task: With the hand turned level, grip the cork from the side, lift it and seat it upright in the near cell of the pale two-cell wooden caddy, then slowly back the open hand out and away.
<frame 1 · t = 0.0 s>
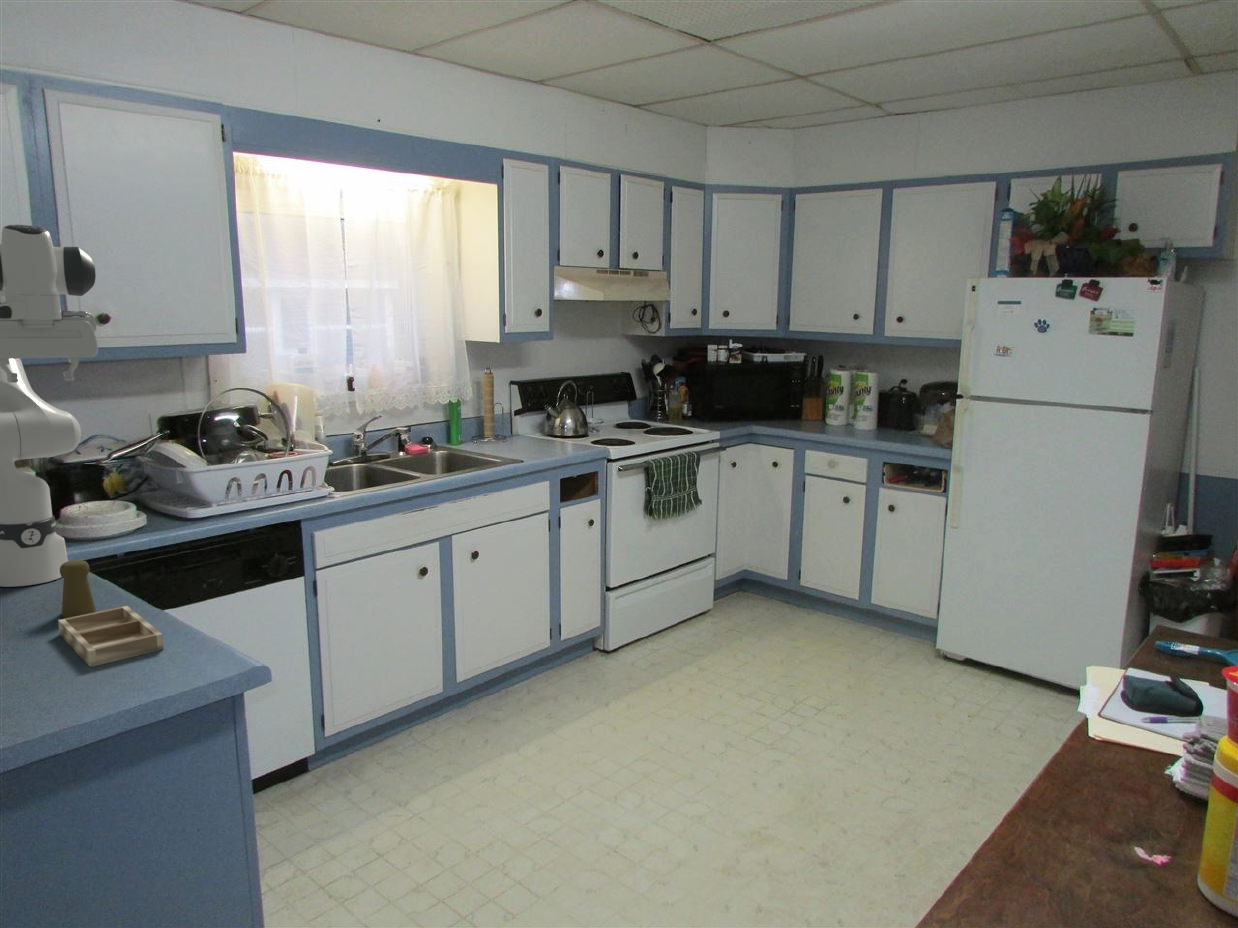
hand: (41, 381, 168), 48 cm above the counter, tool pointing down, fingers open, 8 cm apart
cork: (78, 613, 176), on the counter
caddy: (110, 641, 161), on the counter
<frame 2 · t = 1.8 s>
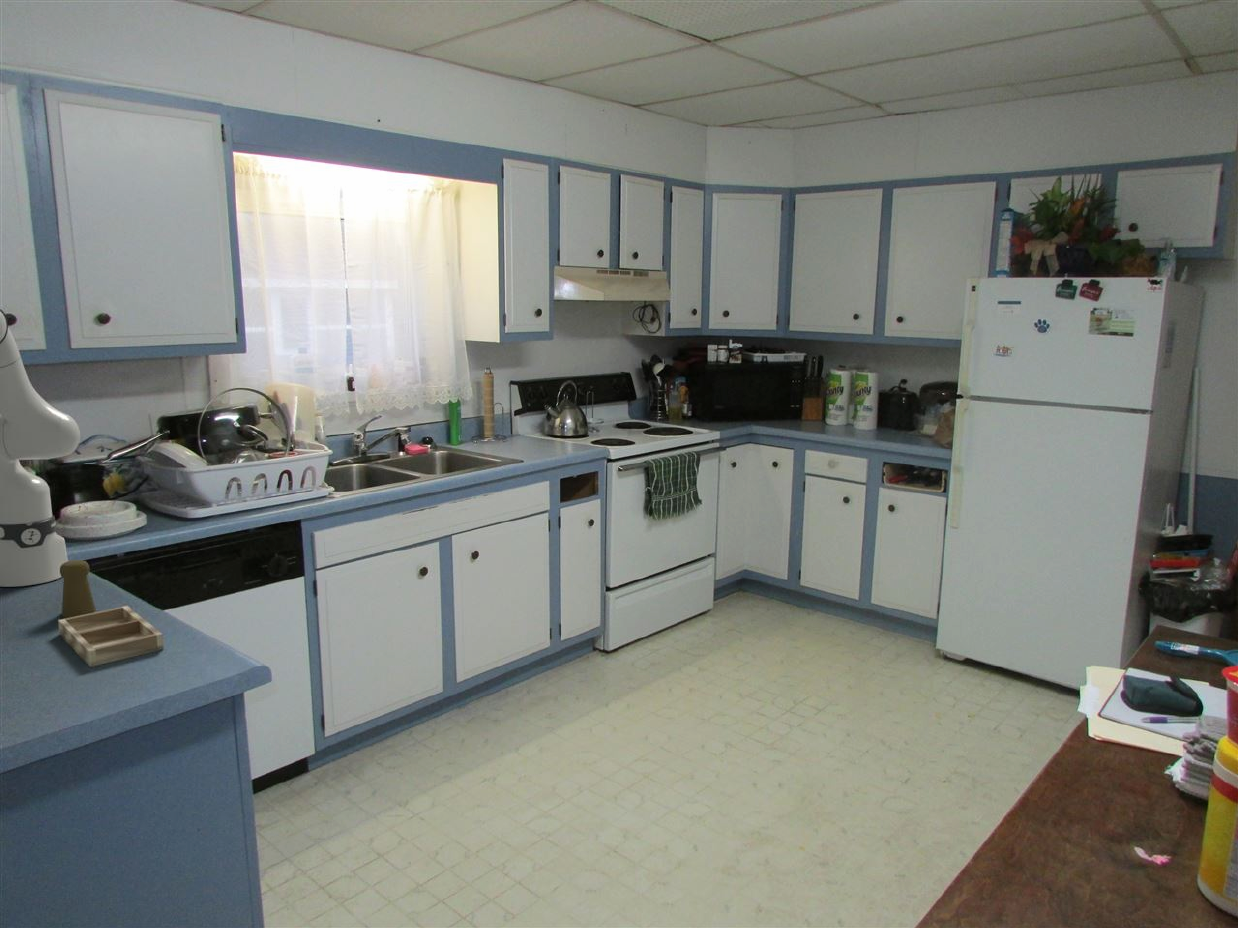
nothing on the counter moved.
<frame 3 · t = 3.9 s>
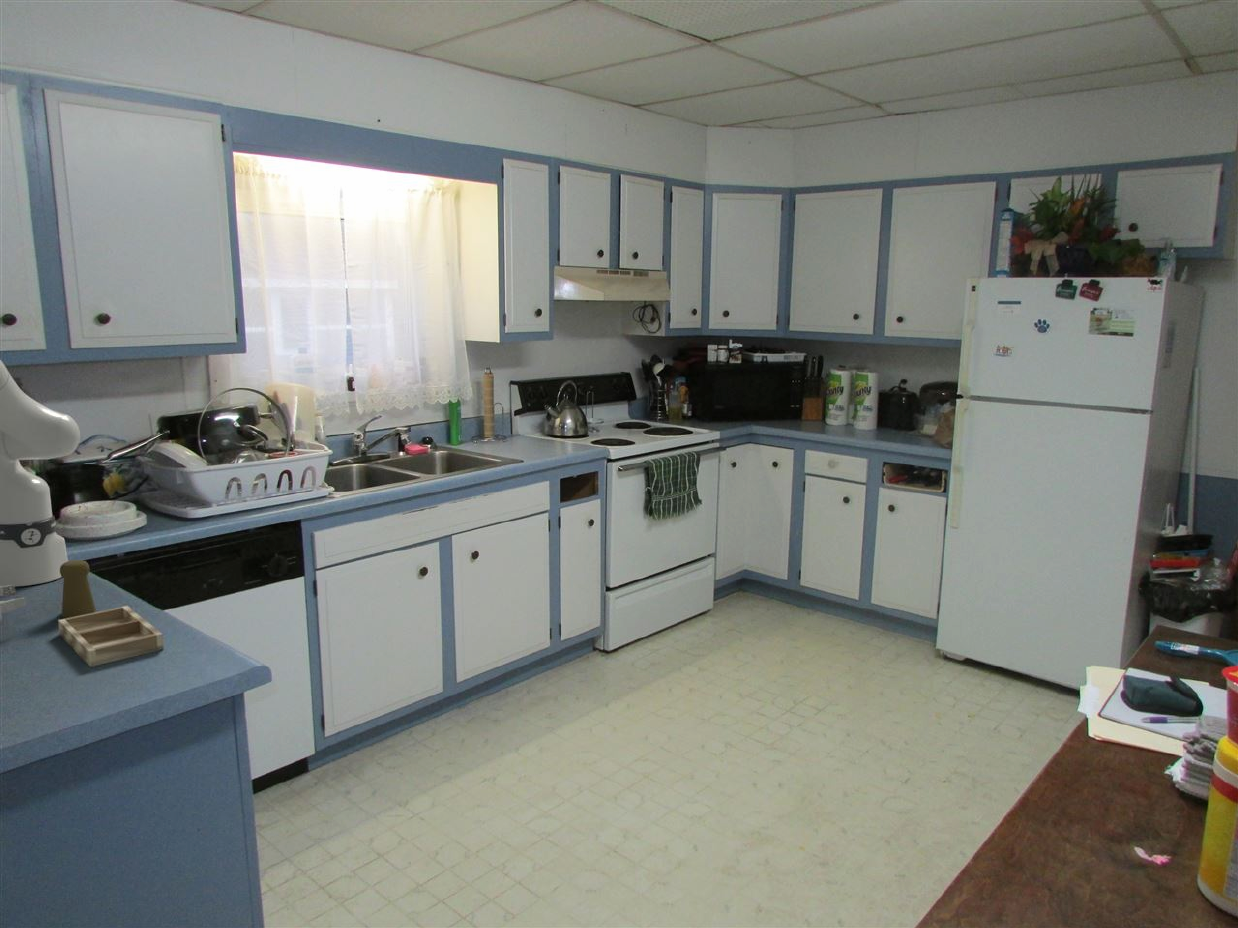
hand: (19, 595, 168), 6 cm above the counter, tool horizontal, fingers open, 8 cm apart
nothing on the counter moved.
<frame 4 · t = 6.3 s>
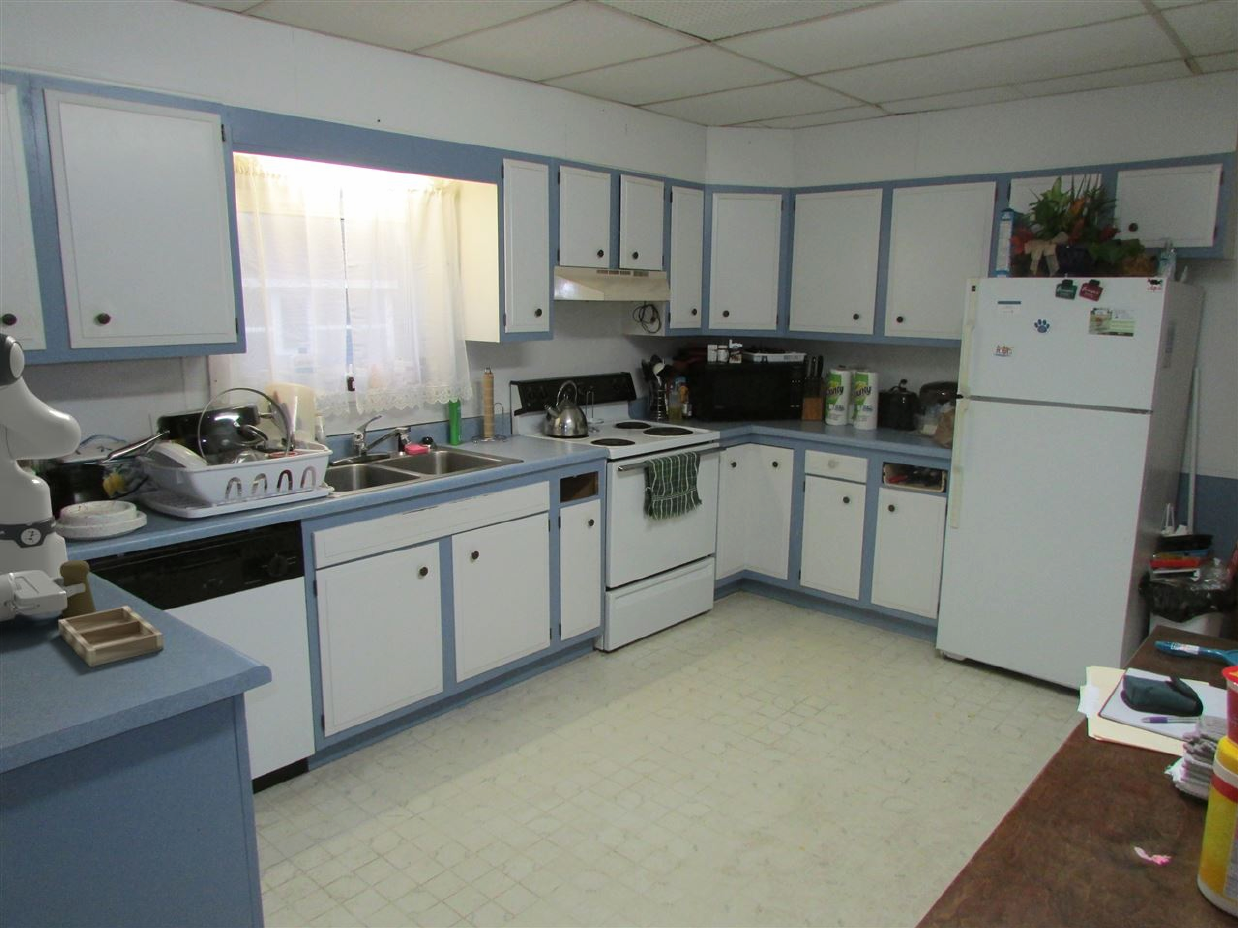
hand: (81, 583, 176), 6 cm above the counter, tool horizontal, fingers closed on cork, 4 cm apart
cork: (78, 613, 176), on the counter, touching gripper
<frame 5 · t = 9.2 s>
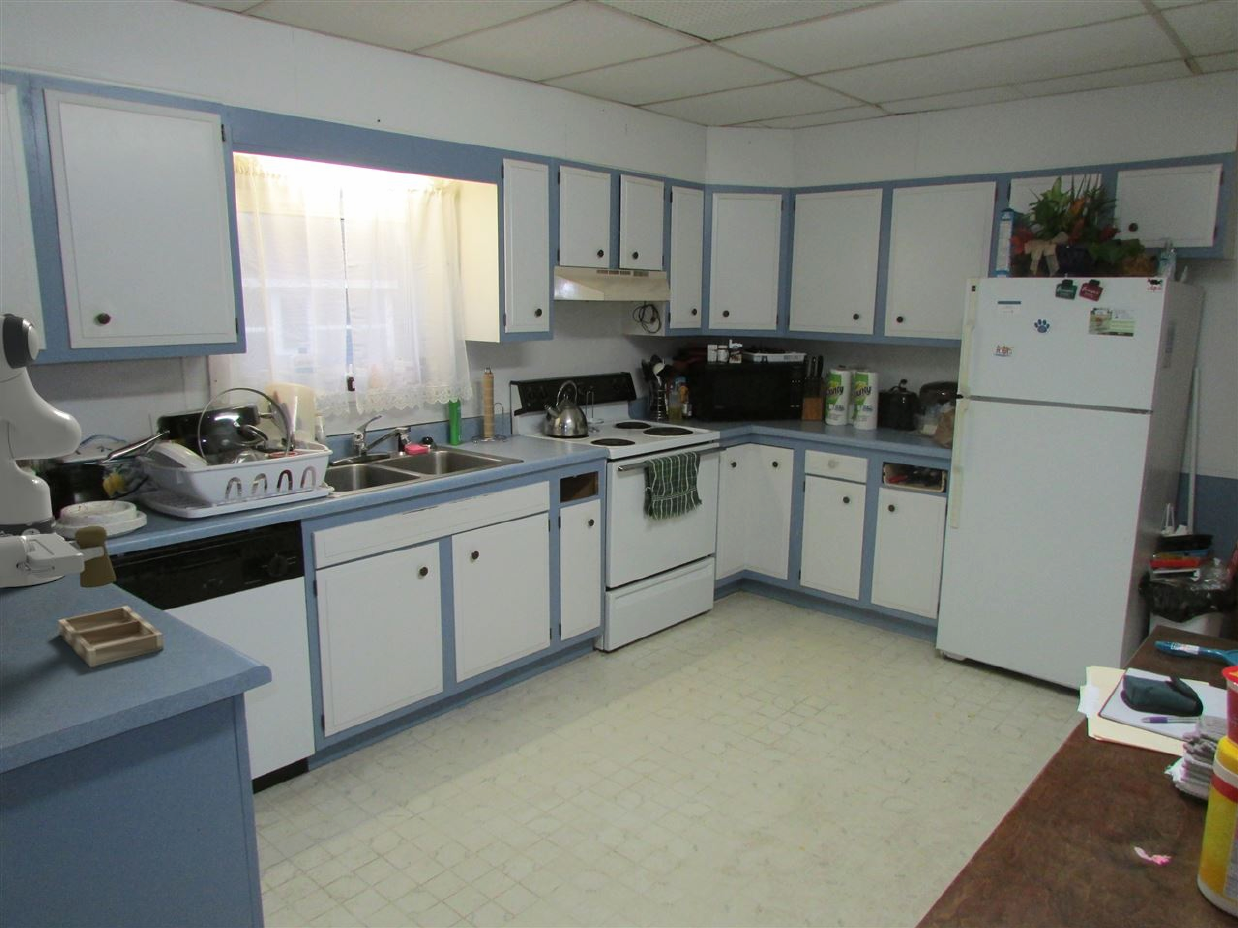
hand: (98, 547, 162), 17 cm above the counter, tool horizontal, fingers closed on cork, 4 cm apart
cork: (98, 583, 163), point 10 cm above the counter, touching gripper
when the fingers open (8 cm above the counter, at t = 12.2 s): cork stays where it is, resting on caddy.
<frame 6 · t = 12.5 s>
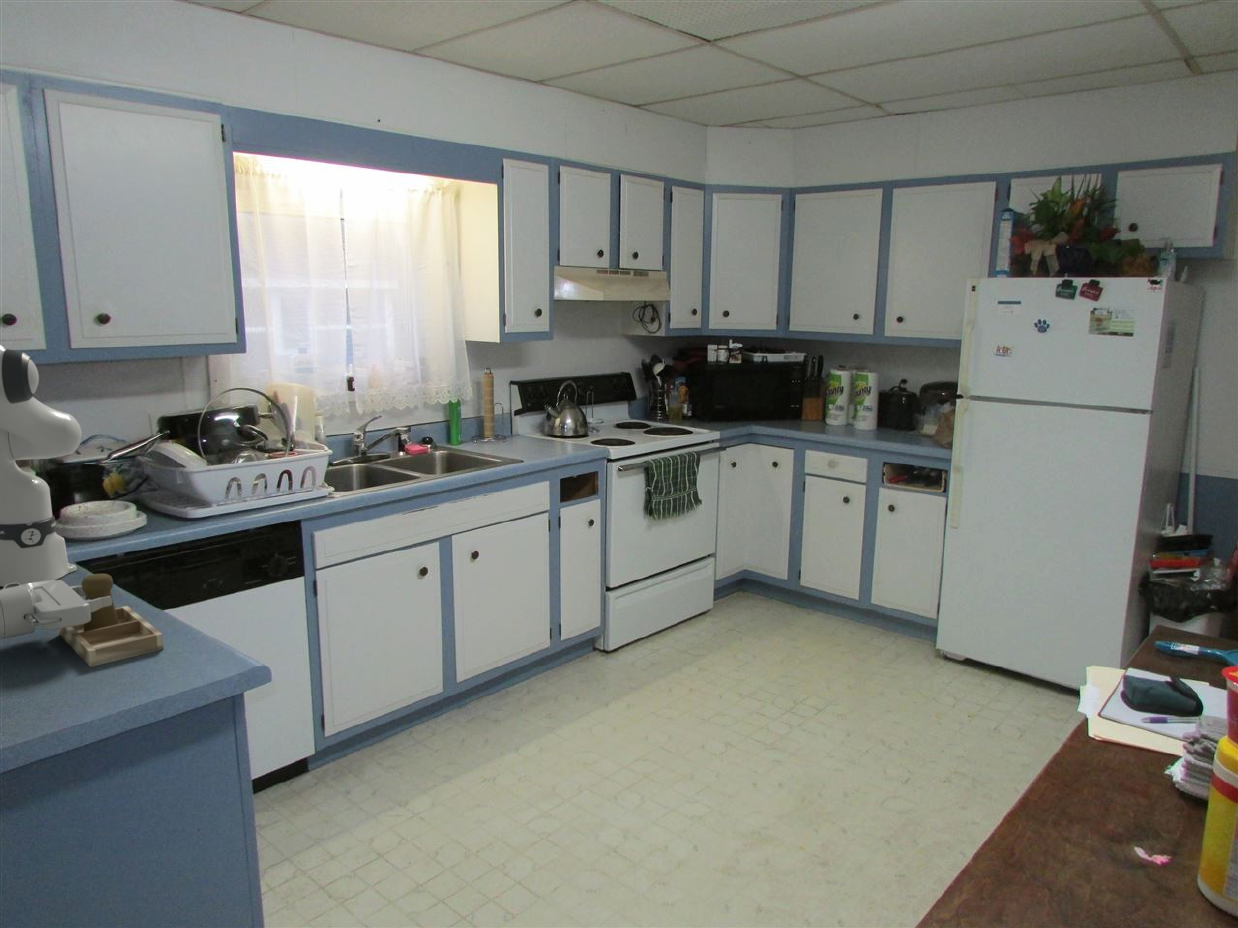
hand: (104, 594, 164), 8 cm above the counter, tool horizontal, fingers open, 7 cm apart
cork: (101, 630, 165), point 1 cm above the counter, touching caddy
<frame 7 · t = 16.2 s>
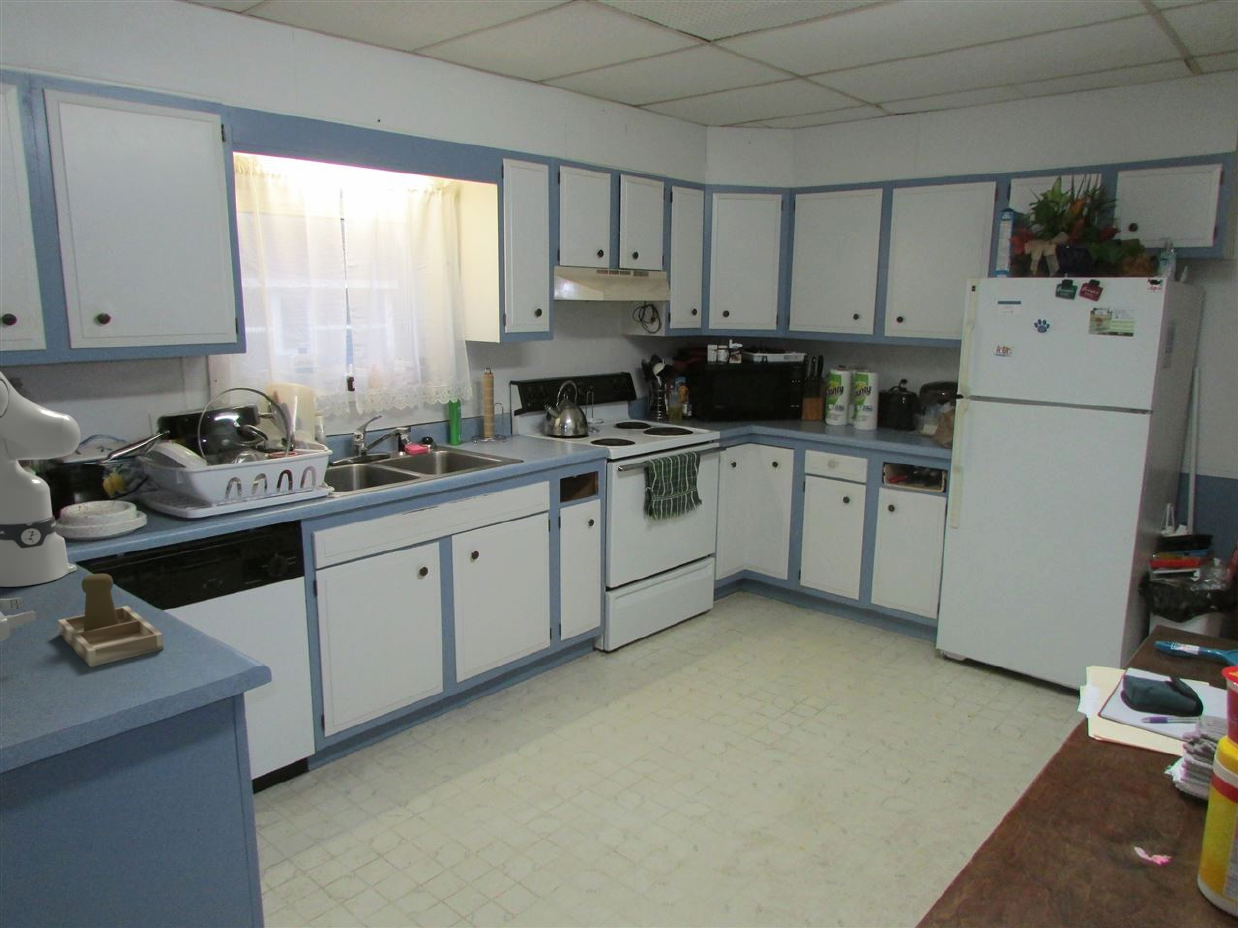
hand: (28, 608, 155), 8 cm above the counter, tool horizontal, fingers open, 8 cm apart
nothing on the counter moved.
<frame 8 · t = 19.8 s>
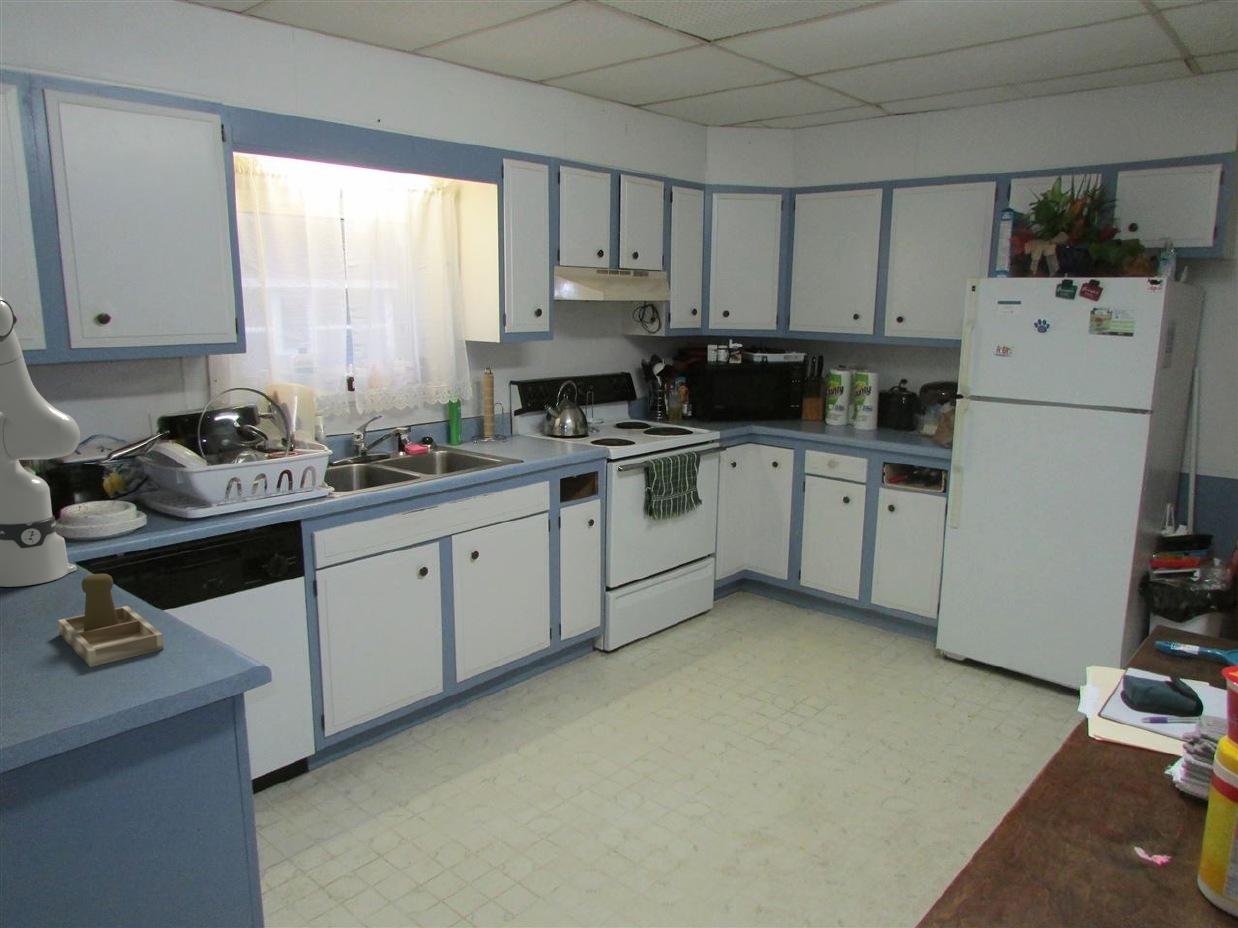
nothing on the counter moved.
at the end: cork 0.8 cm from the target spot on the caddy, point 0.6 cm above the caddy's base; cork tilted 0°; the gripper is holding nothing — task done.
